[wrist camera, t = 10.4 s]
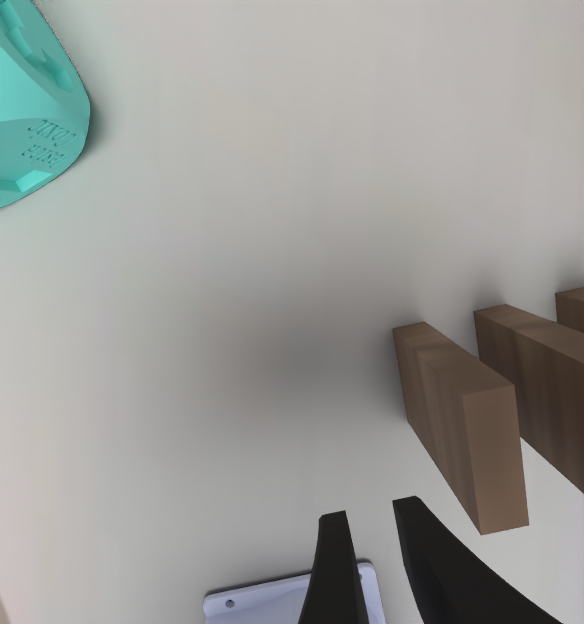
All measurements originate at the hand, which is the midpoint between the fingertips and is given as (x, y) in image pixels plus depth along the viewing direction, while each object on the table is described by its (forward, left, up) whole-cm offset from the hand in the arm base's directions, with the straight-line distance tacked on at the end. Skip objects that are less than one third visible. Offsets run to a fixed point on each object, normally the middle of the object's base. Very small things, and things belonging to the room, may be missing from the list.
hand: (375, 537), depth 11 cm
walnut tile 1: (+4, 0, -10) cm, 11 cm away
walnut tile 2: (+8, 0, -11) cm, 13 cm away
